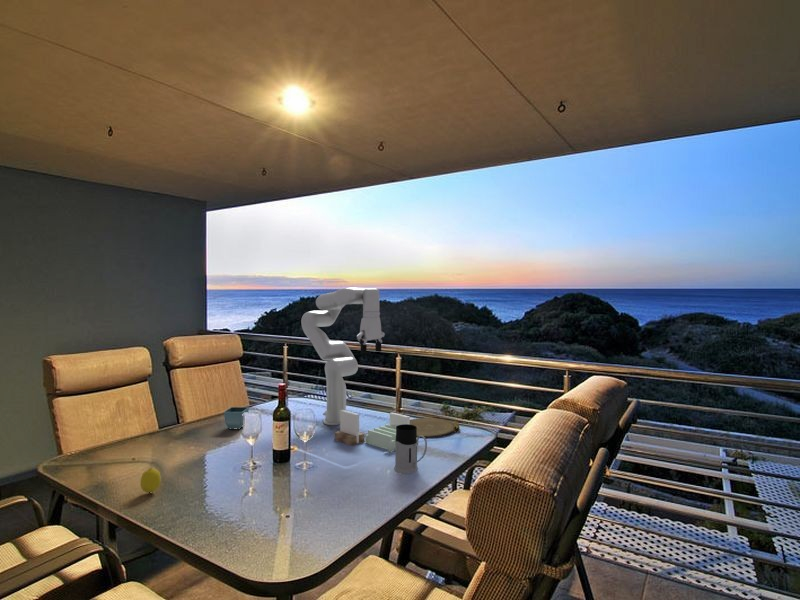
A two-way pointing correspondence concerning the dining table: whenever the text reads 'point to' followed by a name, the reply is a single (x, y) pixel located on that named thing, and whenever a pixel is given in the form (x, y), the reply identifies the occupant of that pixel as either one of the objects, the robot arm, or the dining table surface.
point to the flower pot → (234, 417)
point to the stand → (349, 438)
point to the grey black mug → (407, 449)
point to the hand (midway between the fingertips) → (371, 352)
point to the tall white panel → (349, 423)
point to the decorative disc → (434, 427)
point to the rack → (387, 432)
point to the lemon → (150, 480)
